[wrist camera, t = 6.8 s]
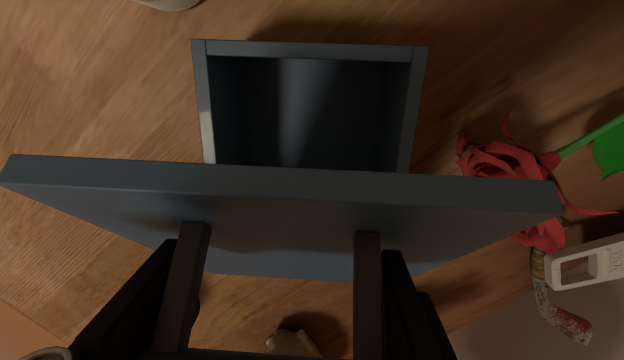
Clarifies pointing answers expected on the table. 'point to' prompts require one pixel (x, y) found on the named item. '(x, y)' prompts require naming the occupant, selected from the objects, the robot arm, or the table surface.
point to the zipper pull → (602, 263)
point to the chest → (308, 103)
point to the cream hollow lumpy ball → (291, 344)
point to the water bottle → (169, 4)
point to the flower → (543, 171)
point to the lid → (282, 227)
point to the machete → (552, 314)
